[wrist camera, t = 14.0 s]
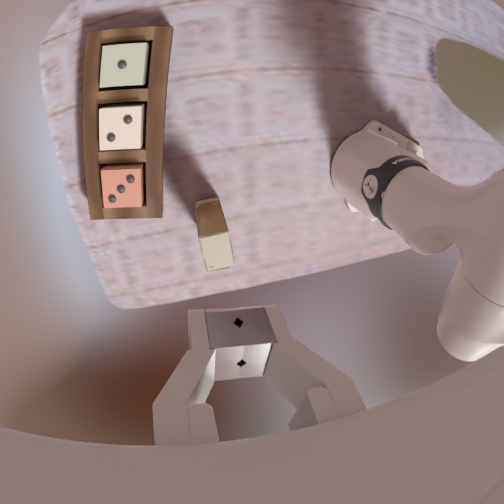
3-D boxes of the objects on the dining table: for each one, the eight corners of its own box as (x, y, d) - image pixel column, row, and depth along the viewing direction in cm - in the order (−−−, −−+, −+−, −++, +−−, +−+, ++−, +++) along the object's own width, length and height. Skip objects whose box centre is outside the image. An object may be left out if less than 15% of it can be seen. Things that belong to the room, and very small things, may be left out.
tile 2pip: (145, 102, 37) (141, 106, 33) (144, 140, 40) (140, 148, 36) (107, 104, 36) (98, 109, 32) (107, 142, 39) (99, 150, 35)
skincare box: (224, 226, 53) (236, 268, 43) (200, 231, 52) (207, 274, 43) (218, 194, 49) (229, 231, 39) (193, 199, 49) (197, 237, 39)
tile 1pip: (150, 45, 32) (146, 42, 28) (147, 83, 36) (142, 84, 31) (111, 48, 31) (102, 45, 27) (108, 86, 34) (99, 87, 30)
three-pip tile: (144, 158, 42) (140, 169, 38) (145, 193, 45) (141, 207, 41) (108, 160, 41) (100, 171, 36) (110, 194, 44) (103, 208, 40)
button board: (173, 30, 32) (172, 26, 29) (163, 206, 48) (162, 217, 45) (94, 35, 29) (86, 32, 26) (96, 208, 45) (90, 219, 42)
